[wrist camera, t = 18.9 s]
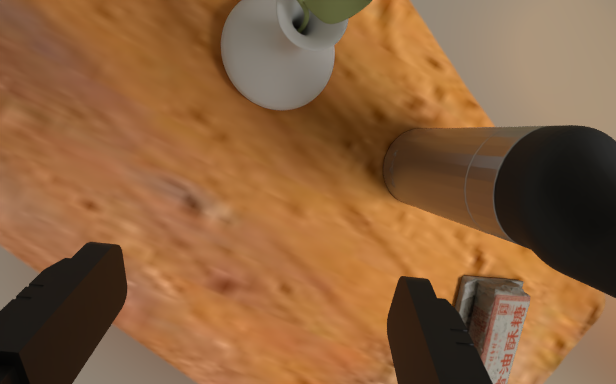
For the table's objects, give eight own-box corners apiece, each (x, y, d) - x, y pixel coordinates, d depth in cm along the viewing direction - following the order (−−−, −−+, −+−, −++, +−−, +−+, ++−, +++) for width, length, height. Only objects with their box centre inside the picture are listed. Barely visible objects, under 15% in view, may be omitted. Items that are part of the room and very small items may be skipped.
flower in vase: (348, 39, 38) (572, -115, 14) (296, 131, 38) (433, 129, 15) (240, -41, 34) (305, -436, 10) (183, 62, 34) (118, -97, 11)
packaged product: (485, 288, 43) (547, 292, 46) (459, 273, 48) (516, 277, 50) (453, 421, 45) (514, 418, 48) (430, 395, 50) (487, 393, 53)
